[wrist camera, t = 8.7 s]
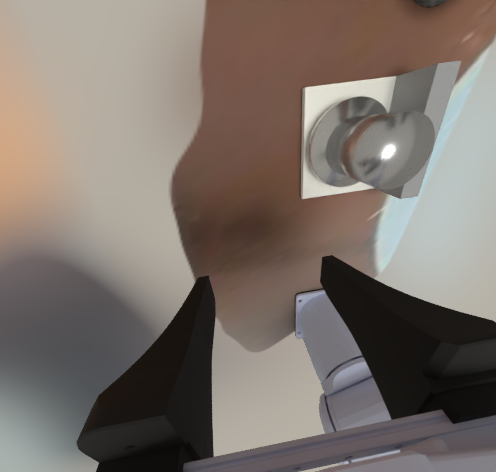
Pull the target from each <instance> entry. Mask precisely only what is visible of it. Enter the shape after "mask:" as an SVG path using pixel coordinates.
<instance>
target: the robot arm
mask: <svg viewBox="0 0 496 472" xmlns="http://www.w3.org/2000/svg"><path fill="white" fill-rule="evenodd" d="M320 282H321V284H322V286H323V289H324V290H319V291H313V292H307V293H301V294H298V295H296V330H295V333H296V334H295V336H296V338H297V339H300V338H303V340H304V342H305V345H306V347H307V350H308V353H309V355H310V358H311V361H312V363H313V366H314V368H315V371H316V373H317V376H318V378H319V379H320V381H321V385H322V388H323V390H324V394H322V395H321V396H320V403H319V413H320V418H321V421H322V425H323V428H324V431H325V434H322V435H317V436H312V437H307V438H302V439H298V440H293V441H288V442H283V443H279V444H274V445H269V446H264V447H259V448H255V449H250V450H245V451H241V452H235V453H231V454H226V455H221V456H217V457H214V456H213V429H212V348H213V337H214V326H215V297H214V294H213V290H212V287H211V283H210V279H209V276H204V277H199V278H198V279H197V281H196V282H195V284H194V286H193V288H192V290H191V292H190V293H189V295H188V297H187V298H186V300H185V302H184V303H183V305H182V307H181V308H180V310H179V311H178V313H177V314H176V316H175V317H174V319H173V320H172V321H171V323H170V324H169V325H168V327H167V328H166V329H165V331H164V332H163V333H162V334H161V335H160V337H159V338H158V339H157V340H156V341H155V342H154V343H153V345H152V346H151V347H150V348H149V349H148V350H147V351H146V352H145V354H143V355H142V356H141V358H140V359H138V360H137V361H136V362H135V364H133V365H132V366H131V367H130V368H129V369H128V370H127V371H126V372H125V373H124V374H123V375H122V376H121V377H119V378H118V379H117V380H116V381H115V382H114V383H112V384H111V385H110V386H109V387H108V388H107V389H106V390H105V391H103V392H102V393H101V394H100V395H99V396H98V398H97V400H96V402H95V404H94V405H93V407H92V409H91V412H90V414H89V416H88V418H87V420H86V423H85V425H84V427H83V429H82V431H81V434H80V436H79V438H78V440H77V446H78V449H79V450H80V451H81V452H83V453H85V454H86V455H88V456H89V457H91V458H92V459H94V460H96V461H98V462H99V465H98V468H97V471H96V472H299V471H303V470H308V469H313V468H317V467H322V466H326V465H331V464H336V463H339V466H335V467H331V468H327V469H323V470H320V471H316V472H496V322H494V321H492V320H488V319H485V318H481V317H477V316H473V315H469V314H466V313H462V312H458V311H455V310H451V309H448V308H445V307H442V306H439V305H435V304H432V303H429V302H427V301H424V300H421V299H418V298H416V297H413V296H410V295H408V294H405V293H403V292H401V291H398V290H396V289H393V288H391V287H389V286H387V285H385V284H383V283H381V282H379V281H377V280H375V279H373V278H371V277H369V276H367V275H365V274H364V273H362V272H360V271H358V270H356V269H355V268H353V267H351V266H350V265H348V264H346V263H344V262H343V261H341V260H339V259H338V258H336V257H334V256H332V255H331V256H325V257H322V267H321V278H320Z"/></svg>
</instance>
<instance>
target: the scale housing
mask: <svg viewBox="0 0 496 472" xmlns="http://www.w3.org/2000/svg"><path fill="white" fill-rule="evenodd" d="M460 64H461V61H455V62H447V63H438V64H435V65H432V66H428V67H425V68H422V69H418V70H415V71H412V72H408V73H405V74H402V75H398V76H393V77H385V78H377V79H369V80H361V81H353V82H345V83H337V84H329V85H321V86H313V87H305V88H303V89H302V143H301V198H302V199H306V198H313V197H320V196H326V195H333V194H339V193H346V192H353V191H359V190H366V189H372V188H374V189H377V190H379V191H382V192H384V193H387V194H389V195H392V196H394V197H397V198H400V199H402V198H409V197H415V196H418V194H419V191H420V188H421V185H422V182H423V179H424V175H425V172H426V169H427V166H428V163H429V160H430V157H431V154H432V152H431V154H430V157H429V158H428V160H427V162H426V164H425V165H424V166H423V168H422V169H421V170H420V171H419V172H418V174H417V175H416V176H414V177H413V178H412V179H411V180H410V181H408V182H407V183H405V184H403V185H401V186H399V187H397V188H393V189H387V190H383V189H378V188H375V187H373V186H370V185H367V184H365V183H362V182H358V183H356V184H354V185H351V186H347V187H335V186H331V185H328V184H326V183H324V182H323V181H321V180H319V179H318V178H317V177H316V176H315V175H314V173H313V172H312V170H311V168H310V165H309V162H308V153H307V150H308V143H309V138H310V135H311V132H312V130H313V128H314V126H315V124H316V123H317V121H318V120H319V118H320V117H321V116H322V115H323V114H324V112H325V111H327V110H328V109H329V108H330V107H331V106H333V105H334V104H336V103H338V102H340V101H342V100H345V99H349V98H353V97H359V96H365V97H370V98H373V99H375V100H377V101H379V102H380V103H381V104H382V105H383V106H384V107H385V109H386V110H387V112H388V113H396V112H407V111H417V112H421V113H424V114H425V115H427V116H428V117H429V118H430V120H431V121H432V123H433V126H434V130H435V141H436V138H437V135H438V132H439V129H440V126H441V123H442V120H443V117H444V114H445V111H446V107H447V104H448V101H449V98H450V95H451V92H452V89H453V86H454V83H455V80H456V76H457V73H458V70H459V67H460ZM435 141H434V145H435ZM433 148H434V146H433ZM432 151H433V149H432Z"/></svg>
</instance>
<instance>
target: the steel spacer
mask: <svg viewBox="0 0 496 472" xmlns="http://www.w3.org/2000/svg"><path fill="white" fill-rule="evenodd" d="M434 141H435V130H434V126H433V123H432V121H431V120H430V118H429V117H428V116H427V115H425V114H424V113H421V112H417V111H407V112H396V113H385V114H374V115H364V116H354V117H350V118H348V119H346V120H344V121H343V122H341V123H340V124H339V125H338V126H337V127H336V128H335V129H334V130H333V132H332V133H331V135H330V137H329V139H328V142H327V146H326V160H327V163H328V165H329V167H330V168H331V169H332V170H333V171H335V172H336V173H339V174H341V175H344V176H347V177H349V178H352V179H354V180H357V181H360V182H362V183H365V184H367V185H370V186H373V187H375V188H378V189H383V190H387V189H393V188H397V187H399V186H401V185H403V184H405V183H407V182H408V181H410V180H411V179H412V178H413V177H414V176H416V175H417V174H418V172H419V171H420V170H421V169H422V168H423V166H424V165H425V164H426V162H427V160H428V158H429V157H430V154H431V152H432V149H433V146H434Z"/></svg>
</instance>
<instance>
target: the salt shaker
mask: <svg viewBox="0 0 496 472" xmlns="http://www.w3.org/2000/svg"><path fill="white" fill-rule="evenodd" d="M414 1H415V2H416V3H418V4H419V5H420V6H424V7H434V6H438V5H440V4H442V3H444V2H446V1H447V0H414Z"/></svg>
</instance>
